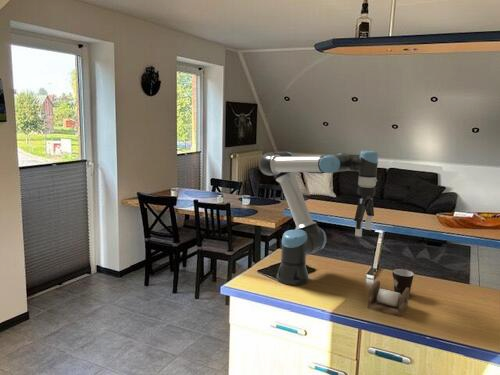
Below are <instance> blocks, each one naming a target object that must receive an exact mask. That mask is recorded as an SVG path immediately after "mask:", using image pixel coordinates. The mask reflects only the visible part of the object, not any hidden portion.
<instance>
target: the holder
mask: <svg viewBox="0 0 500 375" xmlns="http://www.w3.org/2000/svg"><path fill="white" fill-rule="evenodd" d="M380 286H381V281H380V280H376V282H374V284H372V286H371V287H370V288H369V289H368V297H367V299H368V300H367V309H371V310H375V311H378V312H382V313H386V314H389V315H393V316H396V317H399V318H400V317H402V316H403V314H404V312H405V311H406V309H407V308H408V306H409V296H410V293H409V288H407V287H406V289H405V290H404V292H403V293H402V294H401V296H400V298H399V306H398V308H397V307H393V306H389V305H385V304H382V303H378V302H377V295H378V291H379V289H380Z"/></svg>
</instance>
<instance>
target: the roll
mask: <svg viewBox="0 0 500 375" xmlns="http://www.w3.org/2000/svg"><path fill="white" fill-rule="evenodd" d="M400 296H401V294H400V293H398V292H394V290H389V289H385V288H380V289H379V291H378V295H377V302H378V303H382V304H385V305H389V306H393V307H397V308H398V306H399V298H400Z"/></svg>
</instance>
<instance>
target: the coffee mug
mask: <svg viewBox="0 0 500 375" xmlns="http://www.w3.org/2000/svg"><path fill="white" fill-rule="evenodd" d="M414 275H415V273H414V272H413V271H411V270H408V269H403V268H400V269H399V268H398V269H394V270H392V277H393V291H394V292H398V293H400V294H402V293H403V292H404V290H405V289H406V287H407V288H409V294H410V293H411V289H412V284H413V279H414Z"/></svg>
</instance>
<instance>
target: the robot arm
mask: <svg viewBox="0 0 500 375" xmlns="http://www.w3.org/2000/svg"><path fill="white" fill-rule="evenodd" d="M378 163H379V154H378V151H374V150H361V151H360V154H353V153H346V152H344V153H340V152H339V153H337V154H324V155H321V154H320V155H294V154H293V153H292V152H289V151H283V150H282V151H275V152H274V151H273V152H271V151H270V152H266V153H264V154H263V155H261V157H259V160H258V167H259V170H260V172H261V173H262V174H263V175H266V176H271V177H272V176H274V180H275V181H276V182H277V183H279V184H280V186H281V189H282V192H283V195H284V197H285V200H286V202H287V206H288V208H289V210H290V214H291V216H292V219H293V222H294V223H295V229H290V230H289V229H288V230H286V231H284V233H283V234H282V238H281V239H282V240H281V253H280V254H281V256H280V257H281V259H280V260H281V262H280V265H279V266H278V270H277V273H276V280H277V279H278V280H277V281H278V282H279V281H280V283H281V284H284V285H290V286H300V285H301V286H302V285H305V284H307V283H308V282H309V273H308V270H307V266H306V263H307V262H306V261H307V260H306V259H307V256H309V255H311V254H314V253H317V252H319V251H321V250H323V249H324V247H326V244H327V234H326V232H325V231H324V229H322V228H321V227H319V226H318V224H317V221H314V220H313V218H312V216H311V213H310V211H309V207H308V206H307V202H306V201H305V199H304V195H303V192H302V190H301V188H300V185H299V182H298V179H297V174H298V173H325V174H333V173H338V172H346V171H347V172H348V171H349V172H358V182H357V185H358V186H357V194H358V196H360V198H358V200H357V201H358V202H357V207H356V212H355V216H354V219H353V221H354V222H355V232H354V236H355V237H360V238H361V237H362V236H363V223H364V230H367V231H372V221H373V217H375V208H374V196H376V189H377V188H376V187H375V186H376V185H377V182H378V179H377V173H378ZM365 212H366V215H365ZM364 216H365V221H363V219H364Z"/></svg>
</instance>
